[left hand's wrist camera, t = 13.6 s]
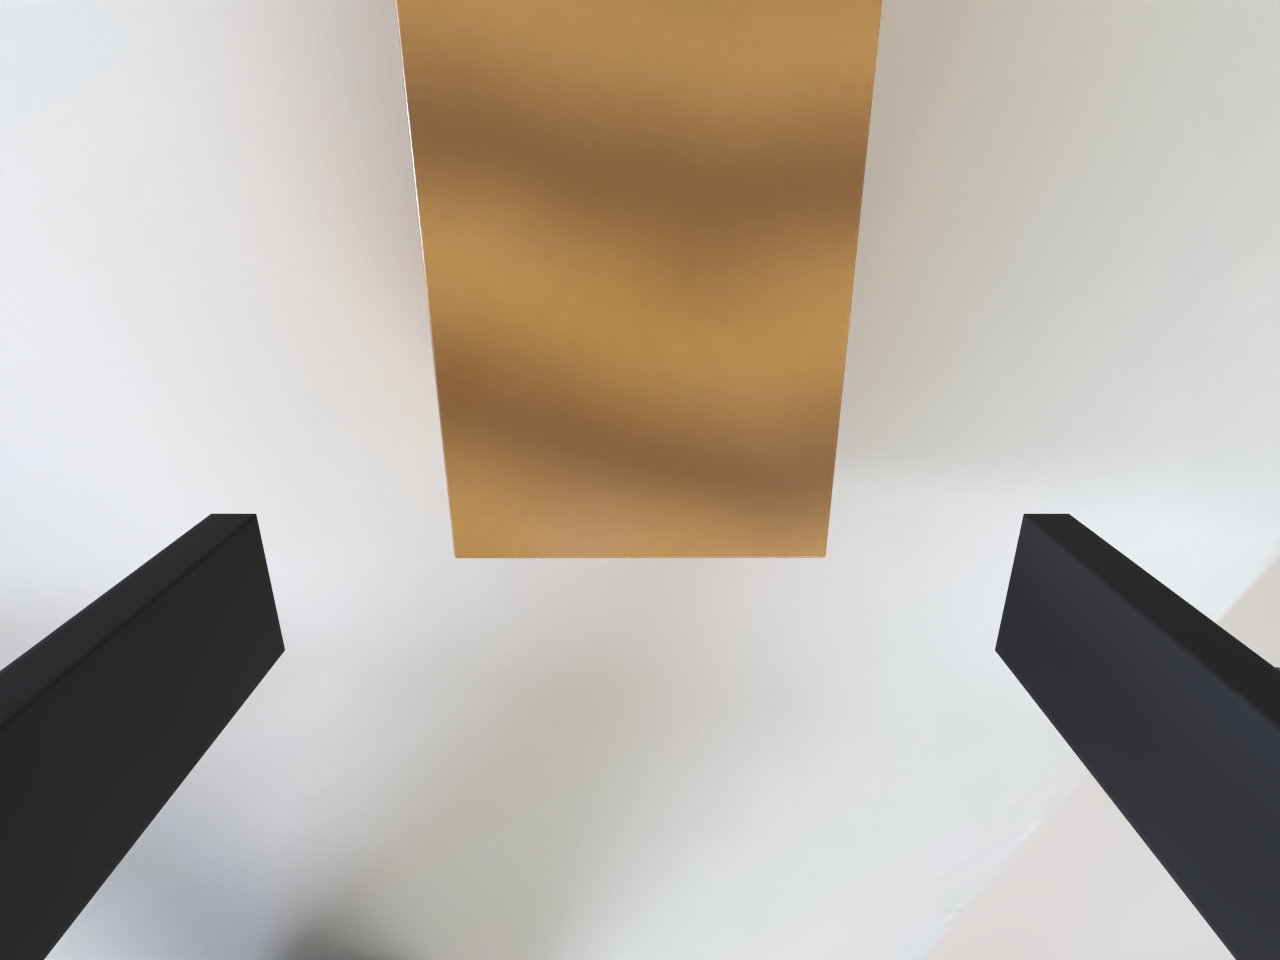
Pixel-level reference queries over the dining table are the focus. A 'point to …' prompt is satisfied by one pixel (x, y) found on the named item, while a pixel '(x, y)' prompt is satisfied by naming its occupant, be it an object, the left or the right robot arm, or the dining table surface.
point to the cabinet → (639, 266)
